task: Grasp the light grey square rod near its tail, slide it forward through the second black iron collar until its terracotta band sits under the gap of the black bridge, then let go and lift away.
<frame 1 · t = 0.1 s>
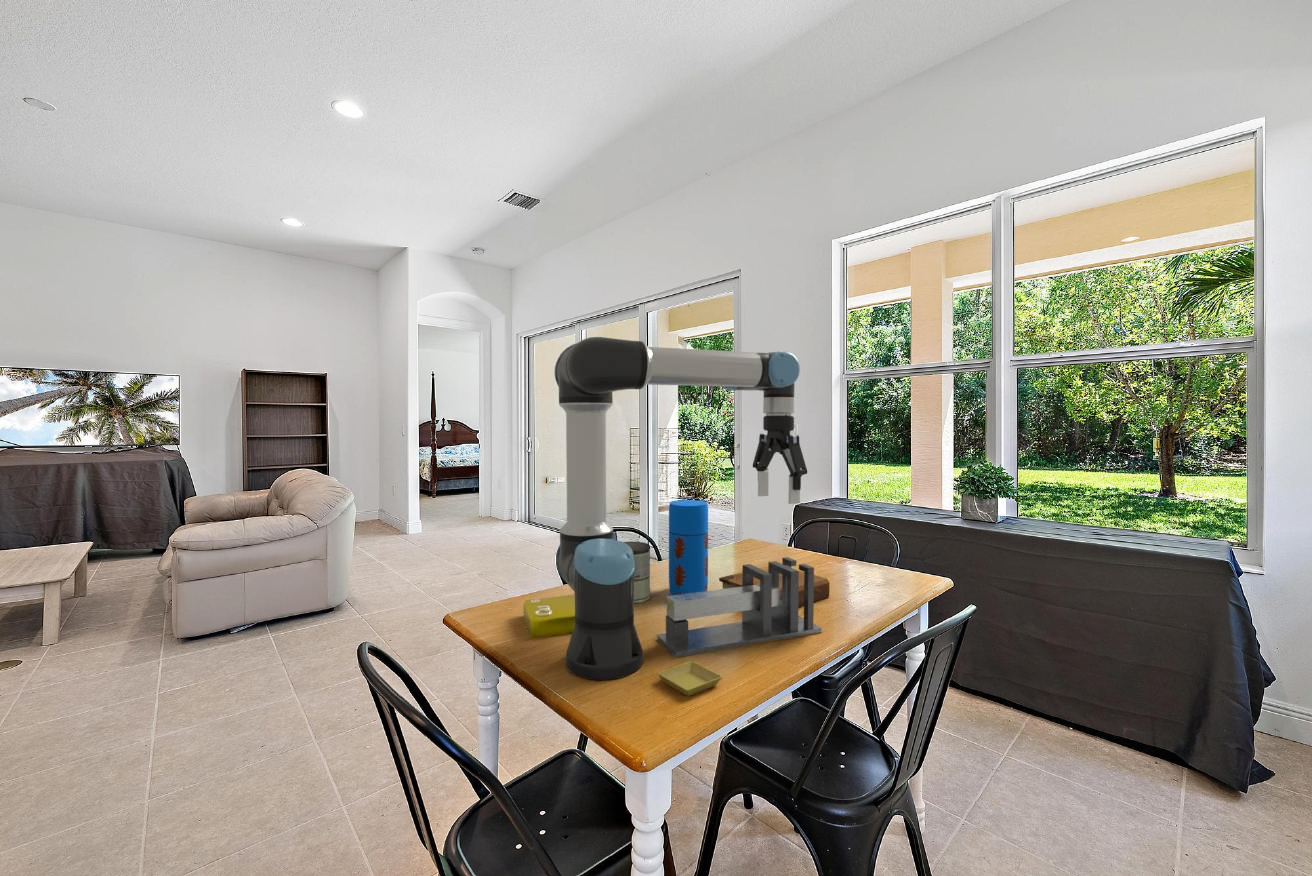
hand: (777, 499, 139), 28 cm above the table, tool pointing down, fingers open, 13 cm apart
thermos: (688, 593, 154), on the table
firebox collars: (771, 630, 126), on the table
saucer: (689, 686, 101), on the table
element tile: (558, 624, 131), on the table
light grey square rod: (725, 600, 121), point 8 cm above the table, slide at 0.0 cm
diary: (774, 599, 150), on the table
coffee can: (631, 598, 150), on the table
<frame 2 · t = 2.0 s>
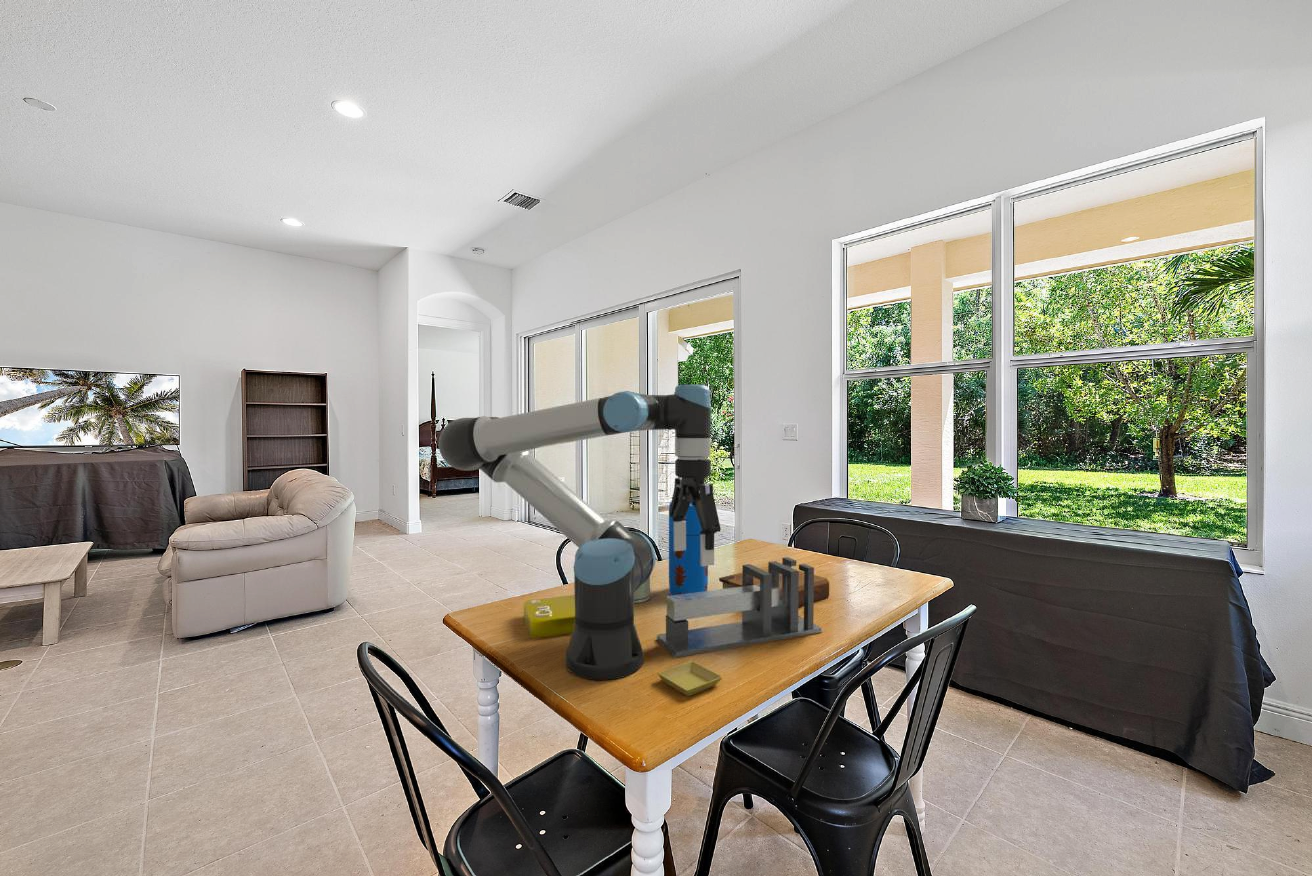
hand: (692, 557, 118), 19 cm above the table, tool pointing down, fingers open, 13 cm apart
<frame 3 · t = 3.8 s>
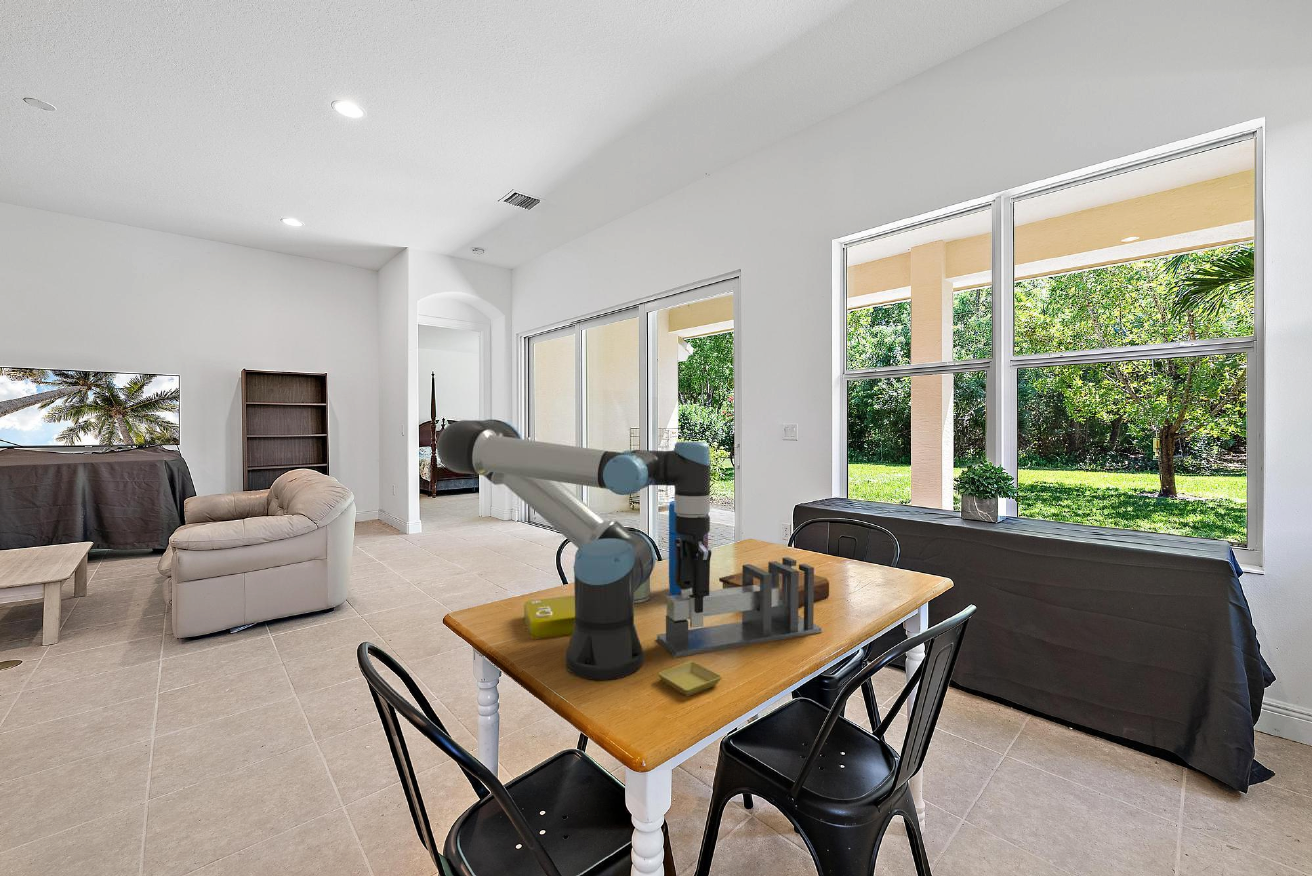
hand: (691, 622, 119), 5 cm above the table, tool pointing down, fingers closed on light grey square rod, 4 cm apart
light grey square rod: (725, 600, 121), point 8 cm above the table, slide at 0.0 cm, touching gripper
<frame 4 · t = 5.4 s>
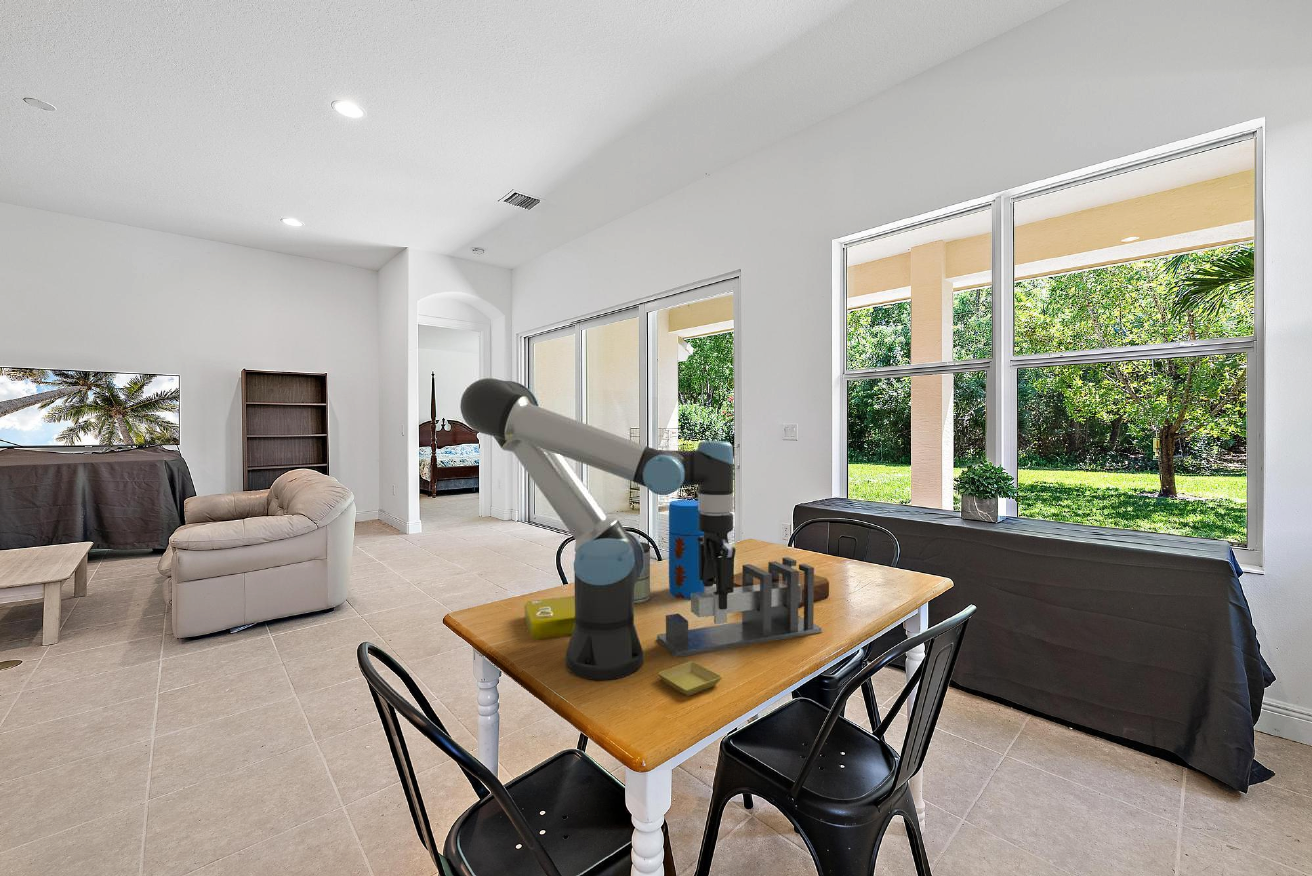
hand: (715, 618, 121), 5 cm above the table, tool pointing down, fingers closed on light grey square rod, 4 cm apart
light grey square rod: (747, 597, 124), point 8 cm above the table, slide at 5.7 cm, touching gripper
everything else where it was.
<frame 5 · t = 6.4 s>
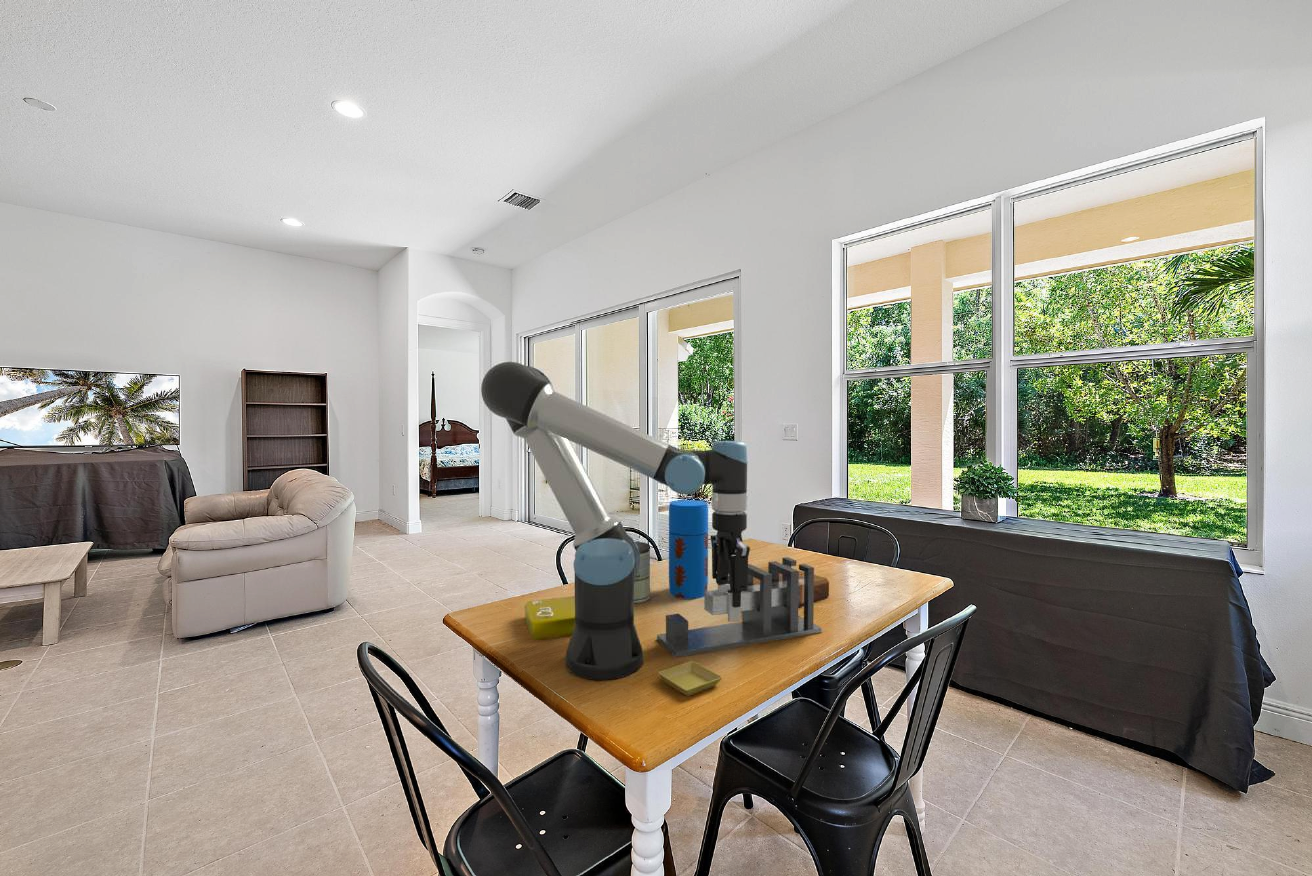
hand: (728, 616, 122), 5 cm above the table, tool pointing down, fingers closed on light grey square rod, 4 cm apart
light grey square rod: (760, 596, 125), point 8 cm above the table, slide at 9.0 cm, touching gripper
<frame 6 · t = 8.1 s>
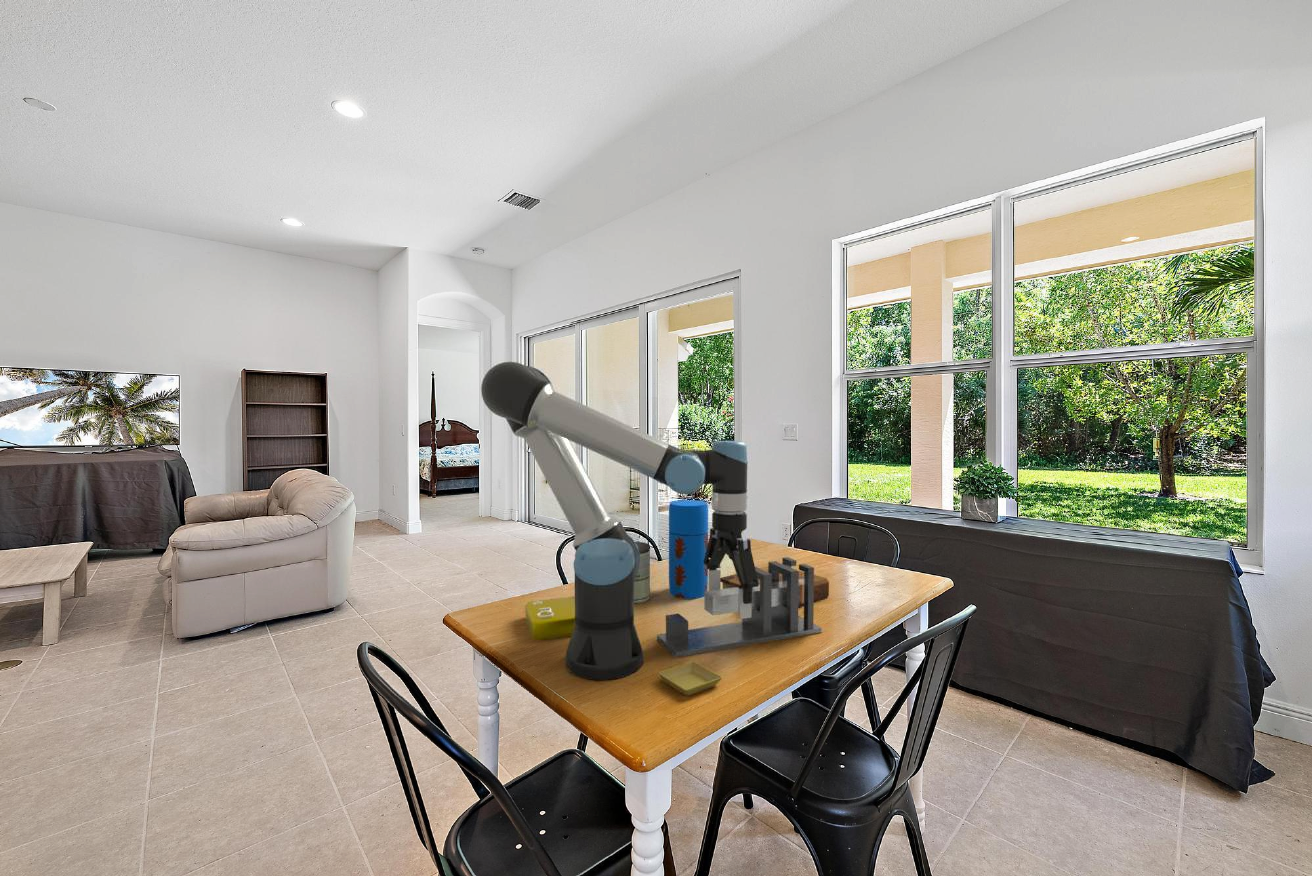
hand: (728, 607, 122), 7 cm above the table, tool pointing down, fingers open, 13 cm apart
light grey square rod: (760, 596, 125), point 8 cm above the table, slide at 9.0 cm
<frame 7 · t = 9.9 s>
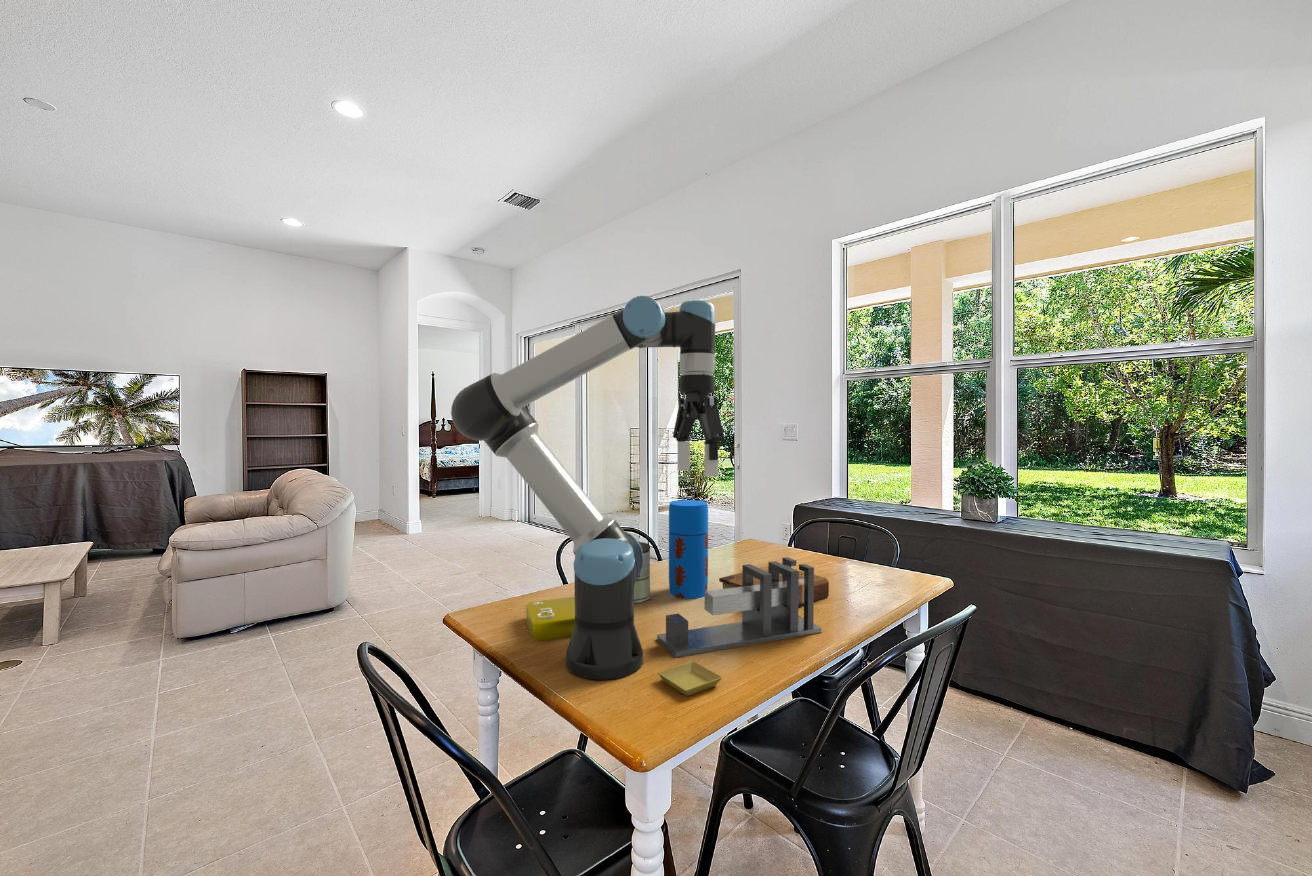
hand: (696, 473, 120), 36 cm above the table, tool pointing down, fingers open, 13 cm apart
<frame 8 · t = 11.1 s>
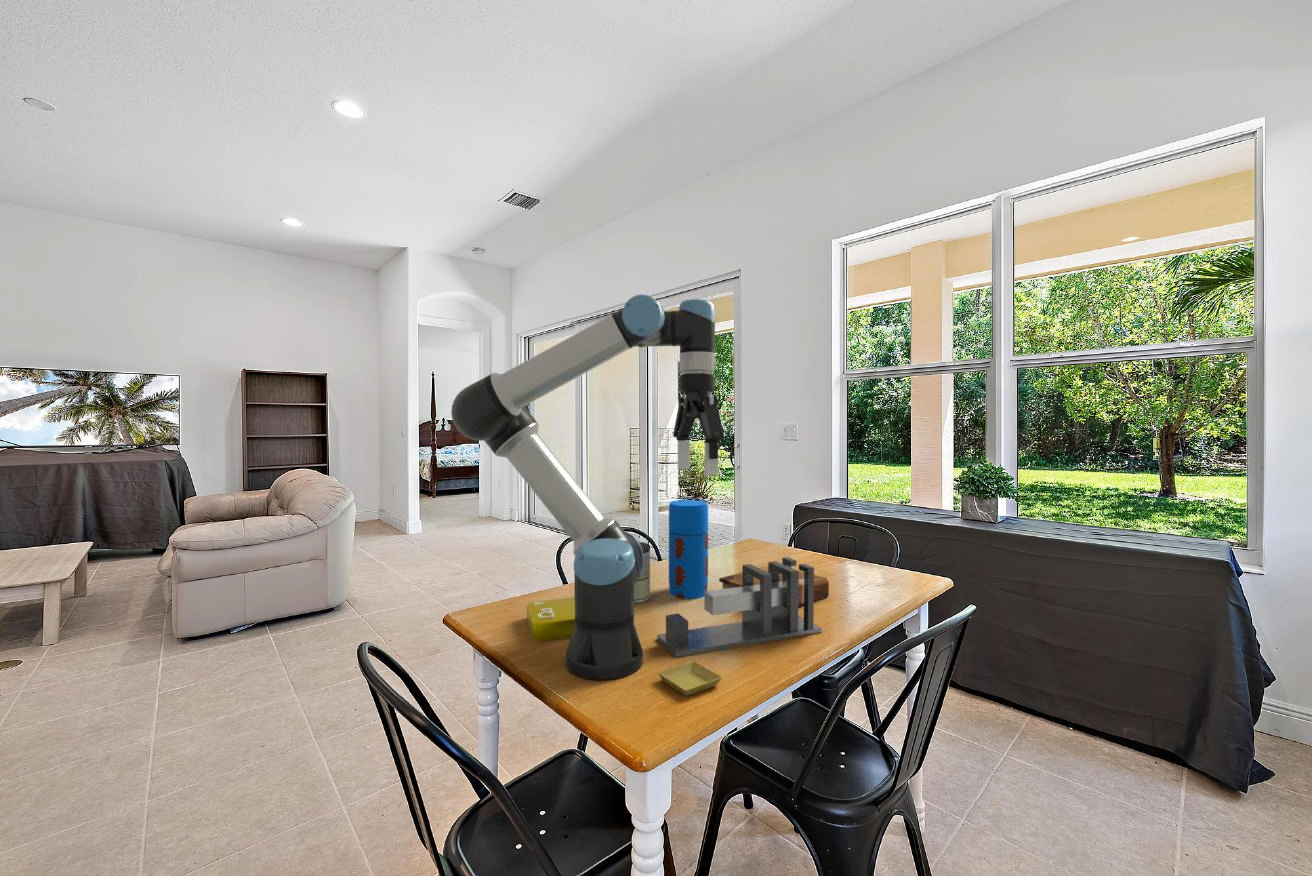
hand: (696, 472, 120), 37 cm above the table, tool pointing down, fingers open, 13 cm apart
at the end: light grey square rod slide at 9.0 cm; the gripper is holding nothing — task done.
